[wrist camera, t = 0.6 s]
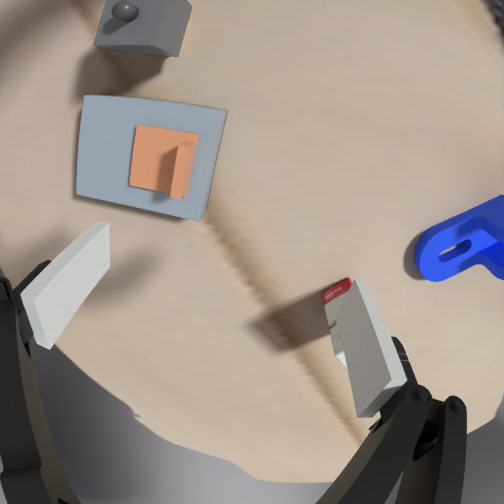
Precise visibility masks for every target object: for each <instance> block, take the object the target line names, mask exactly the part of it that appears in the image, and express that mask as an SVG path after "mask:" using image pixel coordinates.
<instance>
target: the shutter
mask: <svg viewBox="0 0 504 504" xmlns="http://www.w3.org/2000/svg"><path fill="white" fill-rule="evenodd" d="M198 139H199V134H194V133H189V132H183V131H177V130H171V129H165V128H159V127H152V126H145V125H137V128H136V135H135V142H134V149H133V157H132V165H131V174H130V185H131V186H136V187H141V188H145V189H150V190H155V191H160V192H165V193H169V194H170V197H172V198H177V199H181V198H182V196H183V197H187V196H188V192H189V186H190V180H191V175H192V169H193V164H194V159H195V154H196V148H197V143H198Z"/></svg>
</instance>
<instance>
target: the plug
mask: <svg viewBox="0 0 504 504" xmlns="http://www.w3.org/2000/svg"><path fill="white" fill-rule="evenodd" d="M191 10H192V6H191V5H190V3H189V2H188V1H187V0H107V1H106V4H105V7H104V10H103V13H102V16H101V19H100V23H99V26H98V30H97V34H96V37H95V41H94V45H93V46H97V47H101V48H106V49H110V50H114V51H118V52H122V53H126V54H146V55H162V56H174V57H178V56H179V52H180V48H181V45H182V41H183V37H184V34H185V30H186V27H187V23H188V20H189V17H190V14H191Z"/></svg>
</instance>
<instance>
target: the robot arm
mask: <svg viewBox="0 0 504 504" xmlns="http://www.w3.org/2000/svg"><path fill="white" fill-rule="evenodd" d="M109 268H110V248H109V223H107V222H103V221H98V220H97V221H96V222H95V223H93V224H92V225H91V226H90V227H89V228H88V229H86V230H85V231H84V232H83V233H82V234H81V235H80V236H79V237H77V238H76V239H75V240H74V241H73V242H72V243H71V244H70V245H69V246H68V247H67V248H65V249H64V250H63V251H62V252H61V253H60V254H59V255H58V256H57V257H56V258H55V259H54V260H53V261H50V260H47V261H45V262H43V263H41V264H39V265H38V266H37V267H36V268H35V269H34V270H33V272H31V273H30V274H29V275H28V277H26V278H25V279H24V280H23V281H22V282H21V283H20V284H19V285H18V286H17V287H16V288H15V289H14V290H13V291H12V288H11V284H10V281H9V280H8V279H7V278H5V277H0V454H1V459H2V463H3V467H4V469H3V472H1V474H0V481H1V485H2V488H3V492H4V495H5V497H6V500H7V503H8V504H81V502H80V500H79V499H78V497H77V495H76V494H75V492H74V491H73V490H72V488H71V486H70V485H69V483H68V480H67V478H66V475H65V473H64V470H63V468H62V465H61V463H60V460H59V457H58V454H57V451H56V449H55V446H54V443H53V440H52V437H51V433H50V430H49V427H48V423H47V420H46V416H45V412H44V408H43V405H42V401H41V396H40V392H39V388H38V383H37V378H36V372H35V367H34V361H33V354H32V348H31V343H30V338H31V337H32V335H33V334H34V337H35V339H36V342H37V344H39V345H41V346H43V347H45V348H48V349H51V347H52V346H53V344H54V343H55V341H56V340H57V338H58V337H59V335H60V334H61V333H62V331H63V330H64V328H65V327H66V325H67V324H68V322H69V321H70V320H71V318H72V317H73V315H74V314H75V313H76V311H77V310H78V308H79V307H80V306H81V304H82V303H83V302H84V300H85V299H86V297H87V296H88V295H89V293H90V292H91V291H92V289H93V288H94V287H95V286H96V284H97V283H98V282H99V280H100V279H101V278H102V276H103V275H104V274H105V273H106V271H107V270H108V269H109ZM336 321H337V325H338V329H339V334H340V338H341V342H342V346H343V351H344V355H345V360H346V364H347V369H348V373H349V378H350V383H351V388H352V393H353V398H354V403H355V408H356V413H357V417H373V416H374V415H375V414H376V413H377V412H378V411H379V410H380V414H381V418H380V419H379V420H378V421H376V422H375V423H374V424H373V425H372V426H371V427H370V428H369V430H371V429H372V430H371V431H370V433H369V434H368V436H367V437H366V439H365V440H364V442H363V443H362V445H361V446H360V448H359V449H358V451H357V452H356V453H355V455H354V456H353V458H352V459H351V460H350V462H349V463H348V464H347V466H346V467H345V468H344V470H343V471H342V472H341V474H340V475H339V476H338V477H337V479H336V480H335V481H334V483H333V484H332V485H331V486H330V487H329V489H328V490H327V491H326V492H325V494H324V495H323V496H322V497H321V498H320V499H319V501H317V503H316V504H384V503H385V501H386V500H387V498H388V496H389V495H390V493H391V491H392V489H393V488H394V486H395V484H396V483H397V481H398V479H399V477H400V475H401V473H402V471H403V469H404V472H403V476H402V480H401V484H400V487H399V491H398V494H397V498H396V501H395V504H460V502H461V496H462V489H463V481H464V471H465V458H466V440H467V410H466V406H465V404H464V402H463V401H462V400H461V399H460V398H458V397H457V396H449V397H448V398H447V399H446V400H445V401H444V402H443V401H439V400H436V399H433V398H432V395H431V393H430V392H429V390H428V389H426V388H425V387H424V386H422V385H418V383H417V380H416V378H415V375H414V372H413V370H412V367H411V365H410V362H408V357H407V355H406V352H405V350H404V347H403V345H402V344H401V342H400V341H399V340H398V339H397V338H396V337H391V336H390V333H389V331H388V328H387V326H386V323H385V321H384V319H383V316H382V314H381V312H380V309H379V307H378V305H377V302H376V300H375V298H374V295H373V293H372V291H371V289H370V287H369V284H368V282H367V281H363V280H359V279H354V281H353V283H352V286H351V288H350V290H349V292H348V294H347V296H346V298H345V300H344V302H343V304H342V306H341V308H340V310H339V312H338V314H337V316H336Z"/></svg>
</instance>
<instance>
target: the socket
mask: <svg viewBox="0 0 504 504" xmlns="http://www.w3.org/2000/svg"><path fill="white" fill-rule="evenodd" d="M227 112H228V111H227V110H222V109H217V108H211V107H206V106H200V105H194V104H188V103H181V102H175V101H167V100H159V99H151V98H142V97H131V96H118V95H102V94H101V95H84V101H83V108H82V115H81V124H80V133H79V145H78V159H77V182H76V194H77V195H81V196H86V197H91V198H95V199H100V200H105V201H109V202H114V203H119V204H123V205H128V206H132V207H137V208H141V209H146V210H150V211H155V212H159V213H163V214H168V215H172V216H177V217H181V218H185V219H190V220H194V221H198V222H200V220H201V218H202V217H203V215H204V213H205V211H206V209H207V204H208V199H209V194H210V189H211V184H212V180H213V175H214V170H215V165H216V161H217V156H218V151H219V147H220V143H221V138H222V134H223V129H224V125H225V121H226V117H227ZM137 125H145V126H152V127H159V128H165V129H171V130H177V131H183V132H189V133H194V134H199V139H198V143H197V148H196V154H195V159H194V164H193V169H192V175H191V180H190V186H189V192H188V196H187V197H183V196H182V198H181V199H177V198H172V197H170V194H169V193H165V192H160V191H155V190H150V189H145V188H141V187H136V186H131V185H130V174H131V165H132V157H133V149H134V142H135V135H136V128H137Z"/></svg>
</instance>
